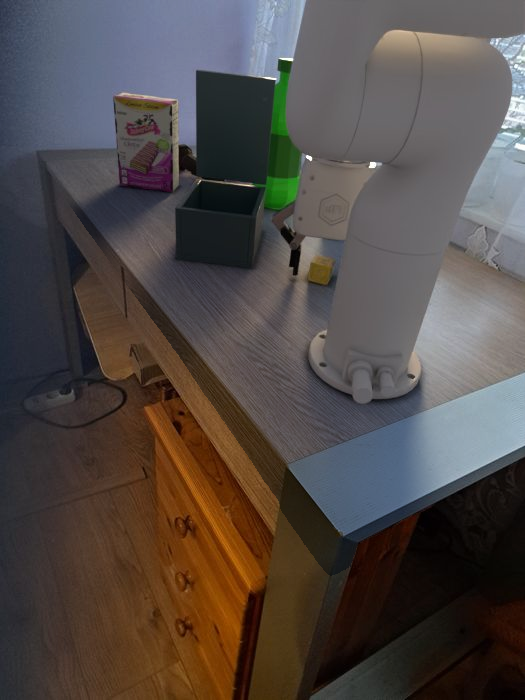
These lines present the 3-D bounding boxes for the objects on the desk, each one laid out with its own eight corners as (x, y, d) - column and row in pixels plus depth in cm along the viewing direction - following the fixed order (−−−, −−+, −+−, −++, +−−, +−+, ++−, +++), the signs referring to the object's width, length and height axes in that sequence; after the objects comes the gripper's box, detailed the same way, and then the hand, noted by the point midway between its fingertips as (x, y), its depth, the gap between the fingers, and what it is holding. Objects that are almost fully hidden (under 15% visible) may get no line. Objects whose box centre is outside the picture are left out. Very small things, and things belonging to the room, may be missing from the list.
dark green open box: (252, 268, 72) (256, 218, 68) (175, 258, 73) (175, 208, 68) (262, 231, 84) (266, 187, 80) (196, 223, 85) (196, 178, 80)
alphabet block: (332, 277, 72) (335, 258, 71) (327, 285, 70) (331, 266, 68) (312, 272, 73) (315, 253, 71) (307, 280, 71) (310, 261, 69)
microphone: (235, 203, 103) (179, 167, 113) (244, 177, 101) (187, 142, 110) (217, 200, 99) (160, 162, 109) (227, 173, 97) (168, 137, 106)
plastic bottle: (305, 215, 93) (326, 65, 78) (250, 212, 92) (261, 59, 77) (298, 198, 101) (316, 59, 86) (248, 195, 100) (258, 53, 85)
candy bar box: (118, 186, 97) (111, 95, 87) (127, 179, 101) (120, 91, 91) (173, 193, 96) (172, 102, 87) (179, 186, 100) (178, 98, 91)
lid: (275, 79, 69) (278, 72, 74) (195, 70, 70) (203, 63, 74) (266, 185, 79) (269, 173, 83) (196, 176, 79) (203, 165, 84)
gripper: (272, 146, 58) (259, 279, 68) (416, 163, 57) (381, 294, 68) (276, 133, 64) (264, 257, 74) (407, 148, 64) (377, 271, 74)
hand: (320, 274), depth 71 cm, fingers open, 6 cm apart
